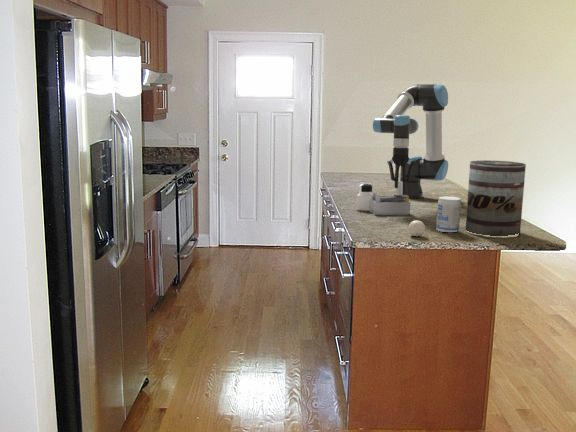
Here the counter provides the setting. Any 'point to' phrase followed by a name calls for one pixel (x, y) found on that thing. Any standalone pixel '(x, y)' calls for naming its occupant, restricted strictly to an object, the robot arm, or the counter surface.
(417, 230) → the baseball
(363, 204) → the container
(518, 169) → the barrel
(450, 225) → the supplement tub
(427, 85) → the robot arm
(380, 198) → the lid
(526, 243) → the counter surface
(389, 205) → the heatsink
